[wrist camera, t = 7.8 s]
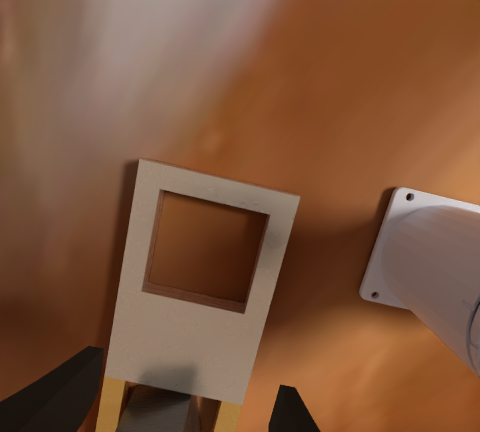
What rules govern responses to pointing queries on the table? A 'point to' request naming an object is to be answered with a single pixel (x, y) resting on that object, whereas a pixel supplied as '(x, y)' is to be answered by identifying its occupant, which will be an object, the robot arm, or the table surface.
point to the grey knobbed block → (160, 411)
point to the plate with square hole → (190, 302)
